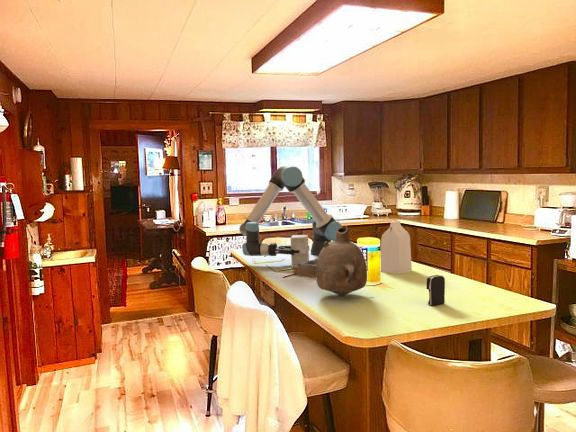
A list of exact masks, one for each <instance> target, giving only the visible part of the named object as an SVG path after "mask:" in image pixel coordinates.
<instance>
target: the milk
mask: <svg viewBox="0 0 576 432" xmlns="http://www.w3.org/2000/svg"><path fill="white" fill-rule="evenodd" d="M380 238H381V239H380V258H381V271H380V272H381V273H382V272H383V273H388V274H396V275H401V274H404V273H407V272H410V271H412V270H413V269H412V267H413V265H412V253H411V252H412V249H411V248H412V247H411V236H410V233H409V232H408V231H407V230H406V229H405V228H404V227H403V226H402V225H401V221H400V220H393V221H390V224H389V227H388V229H386V230H385V231H384V232H383V233H382V235H381V237H380Z"/></svg>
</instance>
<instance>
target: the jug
mask: <svg viewBox="0 0 576 432" xmlns="http://www.w3.org/2000/svg"><path fill="white" fill-rule="evenodd" d="M317 256H318V257H317V259H318V260H317V266H316V278H315V279H316V280H315V281H316V283H317V287H318V288H320V289H321V290H324V291H326V292H327V291H328V292H331V293H334V294H335V295H338V296H340V297H345V296H347V295H349V294H350V293H352V292H355V291H359V290H362V288H364V287H366V285H367V281H368V268H367V264H366V259H365V256H364V253H363V252H362V250H361V248H360V247H359V246H358V245H357V244H356V243H354V242H351V239H350V236H349V228H348V226H342V228H338V229H337V234H336V239H335V240H334V241H333V240H331V242H329V243H327V241H325V243H324V247H323V248H322V250H321V252H320V254H319V255H317Z"/></svg>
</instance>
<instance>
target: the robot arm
mask: <svg viewBox="0 0 576 432" xmlns="http://www.w3.org/2000/svg"><path fill="white" fill-rule="evenodd" d="M283 189H286V190H287V191H288V192H289V193H293V195H294V196H295V197H296V198H297V200H298V201H299V202H300V204H301V205H302V207H303V208H304V209H305V210H306V211H307V213H308V214H309V216H310V217H311V218H312V225H311V226H312V244H311V248H310V245H308V248H309V251H310V254H311V255H314V256H319V254H320V252H321V250H322V248H323V247H324V243H325V241H327V243H329V242H332V241H335V239H336V234H337V229H338V228H342V227H343V225H342V223H340V222H339V221H337V220H336V219H335V218H334V216H332V214H328V213H327V211H326V210H325V209H324V208H323V206H322V205H321V203H320V202H319V201H318V199H317V198H316V197H315V195H313V193H312V192H311V190H310V189H309V188H308V186H307V185H306V179H305V178H304V177H303V173H302V170H301V169H300V168H299V167H297V166H294V165H283V166H280V167H279V168H277V169H276V170H275V171H274V173H273V174H272V176H271V178H270V179H269V181H268V185H267V187H266V188H265V190H264V192H263V193H262V195H261V197H260V198H259V199H258V201H257V202H256V204H255V205H254V207H253V208H252V210H251V212H250V213H249V215H248V216H247V218H246V220H245V221H244V222H242V223H241V224H240V225H239V227H238V229H239V232H240V233H241V235H242V236H244V237H245V240H246V242H244V243H243V244H242V250H241V251H242V254H243V255H244V256H248V257H262V256H263V257H264V258H265V257H269V256H270V257H277V255H278V254H279V255H290V256H291V254H292V255H294V254H306V249H291V244H290V245H289V244H288V245H279V246H278V244H277V243H276V242H260V222H261V220H262V219H263V217H264V216H265V214H266V213H267V211H268V210H269V208H270V207H271V205H272V203H273V202H274V200H275V199H276V197H277V196H278V195H279V193H280V192H283Z"/></svg>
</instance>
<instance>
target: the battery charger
mask: <svg viewBox="0 0 576 432" xmlns="http://www.w3.org/2000/svg"><path fill="white" fill-rule="evenodd" d="M445 281H446V279H445V277H444V276H443V275H440V274H435V275H429V276H428V277H427V278H426V290H428V294H429V295H428V296H429V297H428V299H429V300H428V302H427V304H428V305H429V306H431V307H434V306H439V305H442V304H445V303H446V301H445V300H446V299H445V298H446V297H445V295H446V291H445V289H446V282H445Z"/></svg>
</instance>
